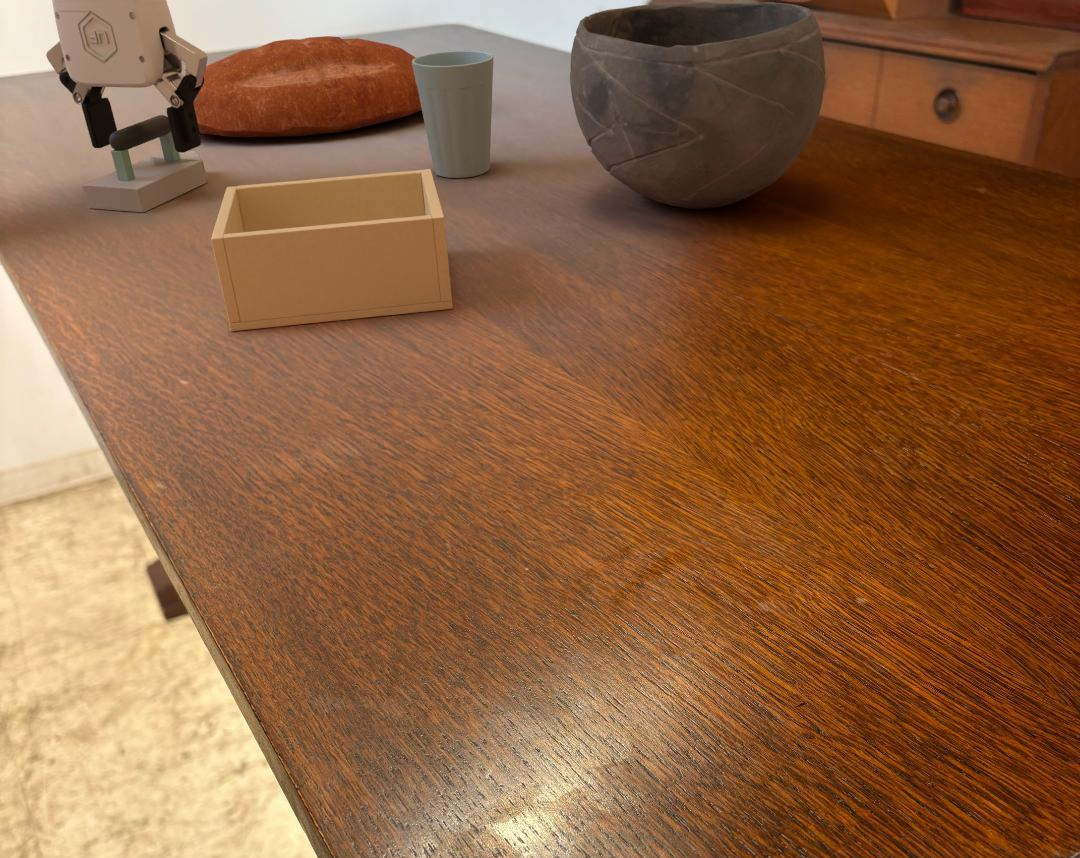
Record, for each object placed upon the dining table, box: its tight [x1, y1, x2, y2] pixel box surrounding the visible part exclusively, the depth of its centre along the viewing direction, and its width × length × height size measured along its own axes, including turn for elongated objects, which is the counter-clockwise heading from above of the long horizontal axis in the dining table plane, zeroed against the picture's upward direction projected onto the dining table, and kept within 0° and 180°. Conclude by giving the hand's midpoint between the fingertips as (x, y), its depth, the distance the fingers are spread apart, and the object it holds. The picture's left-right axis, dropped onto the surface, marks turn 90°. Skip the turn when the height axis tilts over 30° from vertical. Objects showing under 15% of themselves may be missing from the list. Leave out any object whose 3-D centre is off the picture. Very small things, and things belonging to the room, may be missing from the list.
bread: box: [193, 35, 422, 138], centre depth 127 cm, size 23×32×9 cm
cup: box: [412, 50, 494, 179], centre depth 105 cm, size 8×8×10 cm
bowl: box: [569, 1, 826, 210], centre depth 92 cm, size 21×21×15 cm
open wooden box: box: [210, 168, 454, 332], centre depth 80 cm, size 16×13×7 cm
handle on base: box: [82, 114, 208, 213], centre depth 105 cm, size 13×6×6 cm, turn 159°
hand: (147, 146), depth 104 cm, fingers open, 9 cm apart
